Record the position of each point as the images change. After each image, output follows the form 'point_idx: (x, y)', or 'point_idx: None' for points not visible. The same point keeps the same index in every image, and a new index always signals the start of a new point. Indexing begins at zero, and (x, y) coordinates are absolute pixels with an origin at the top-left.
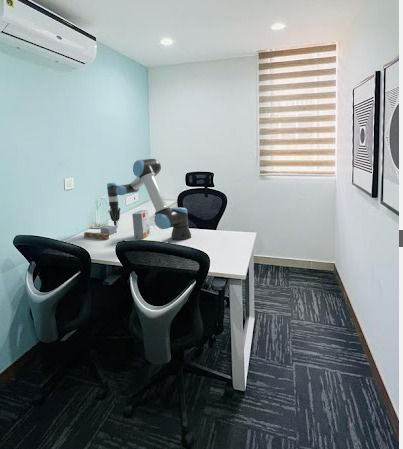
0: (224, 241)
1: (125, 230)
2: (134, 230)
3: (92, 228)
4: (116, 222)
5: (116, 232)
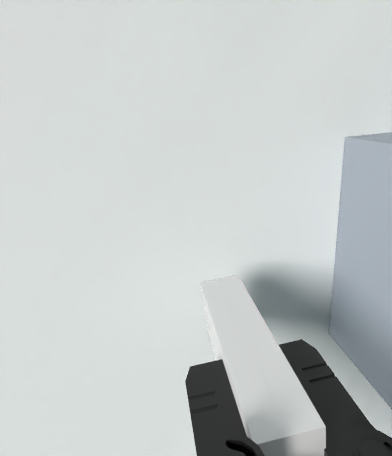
0: None
1: (117, 130)
2: None
3: None
4: (299, 383)
5: (358, 137)
